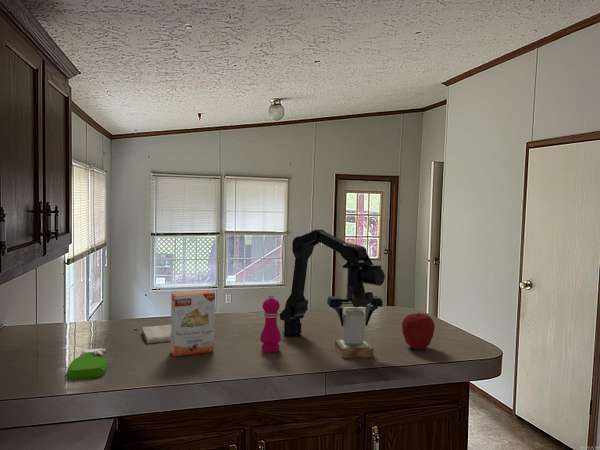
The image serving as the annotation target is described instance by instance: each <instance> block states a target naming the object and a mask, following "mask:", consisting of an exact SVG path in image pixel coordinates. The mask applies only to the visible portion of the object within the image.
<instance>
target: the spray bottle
mask: <svg viewBox="0 0 600 450" xmlns="http://www.w3.org/2000/svg"><path fill="white" fill-rule="evenodd" d="M105 352H107V351H106V348H92V349H83V350H81V355H80V356H78V357H75V358H74V359H73V360H72V361H71V362H70V364H69V365H68V367H67V373H66V374H67V377H68V379H69V380H80V379H81V380H83V379H91V378H99V377H102V376H103V375H104V374H105V372H106V371H107V368H108V360H107V359H105V358H104V357H102V355H104V353H105ZM97 355H101V356H97Z"/></svg>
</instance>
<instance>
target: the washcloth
mask: <svg viewBox="0 0 600 450" xmlns="http://www.w3.org/2000/svg"><path fill="white" fill-rule="evenodd" d="M142 335H143V338H144V339H145V342H146V344H157V343H168V342H171V324H163V325H149V326H143V327H142Z"/></svg>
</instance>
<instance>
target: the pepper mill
mask: <svg viewBox="0 0 600 450" xmlns="http://www.w3.org/2000/svg"><path fill="white" fill-rule="evenodd" d="M274 297H275V296H274V294H272V293H270V294H269V296H268V298H266V299H265V300H264V301H263V303H262V309H263V312H264V313H263V314H264V315H263V317H264V326H263V328H262V331H261V333H260V342H261V343H262V345H261V351H262V352H263V353H268V354H271V353H272V354H274V353H277V352H279V351H280V345H279V343H280V341H281V339H282V335H281V332H280V329H279V327H278V324H277V323H278V322H277V321H278V320H277V319H278V317H279V312H278V311H279V310H280V307H281V305H280V302H279V300H278V299H276V298H274Z"/></svg>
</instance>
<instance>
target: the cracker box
mask: <svg viewBox="0 0 600 450" xmlns="http://www.w3.org/2000/svg"><path fill="white" fill-rule="evenodd" d="M170 297H171V300H170V301H171V303H170V305H171V307H170V308H171V309H170V311H171V313H170V325H171V341H170V353H171V354H172V356H173V357H179V356H189V355H190V356H191V355H197V354H204V353H213V352H214V349H215V320H216V319H215V313H216V312H215V311H216V293H215V292H213V291H212V290H210V289H209V290H198V291H179V292H171V296H170Z"/></svg>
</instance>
